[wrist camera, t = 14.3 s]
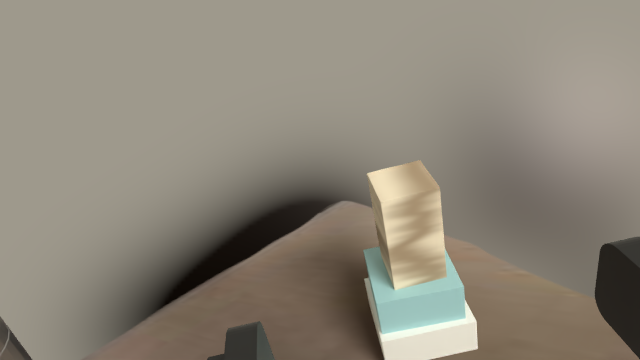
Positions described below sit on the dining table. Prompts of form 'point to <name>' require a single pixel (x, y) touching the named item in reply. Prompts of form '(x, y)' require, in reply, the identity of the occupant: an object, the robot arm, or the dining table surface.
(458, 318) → the tower top
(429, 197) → the birch post
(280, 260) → the dining table surface
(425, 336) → the tower base
